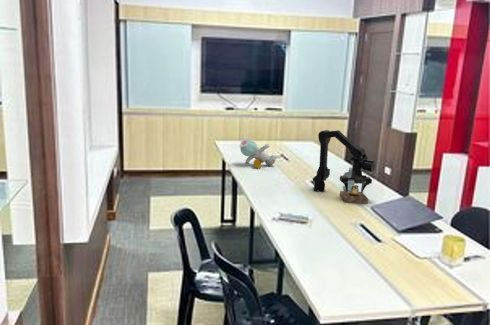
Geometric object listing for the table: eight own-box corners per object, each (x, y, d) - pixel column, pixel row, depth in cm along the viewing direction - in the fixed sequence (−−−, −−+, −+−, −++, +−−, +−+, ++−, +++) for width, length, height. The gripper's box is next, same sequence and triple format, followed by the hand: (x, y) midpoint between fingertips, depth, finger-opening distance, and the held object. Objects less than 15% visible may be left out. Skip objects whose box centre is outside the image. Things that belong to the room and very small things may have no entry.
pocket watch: (357, 171, 303) (363, 178, 289) (355, 187, 306) (361, 194, 291) (342, 171, 303) (347, 177, 288) (340, 186, 306) (345, 193, 291)
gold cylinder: (350, 200, 278) (352, 186, 276) (349, 198, 282) (350, 184, 279) (357, 200, 278) (359, 186, 276) (355, 198, 282) (357, 184, 280)
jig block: (344, 202, 273) (345, 198, 272) (339, 195, 286) (340, 190, 286) (367, 203, 273) (368, 198, 272) (361, 196, 287) (362, 191, 286)
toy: (286, 148, 339) (253, 128, 330) (281, 167, 329) (247, 147, 320) (263, 163, 364) (232, 145, 355) (257, 182, 354) (226, 163, 345)
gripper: (344, 171, 267) (342, 196, 271) (376, 172, 267) (372, 197, 271) (340, 166, 278) (338, 190, 281) (370, 167, 278) (367, 191, 282)
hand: (354, 192), depth 279 cm, fingers open, 9 cm apart
